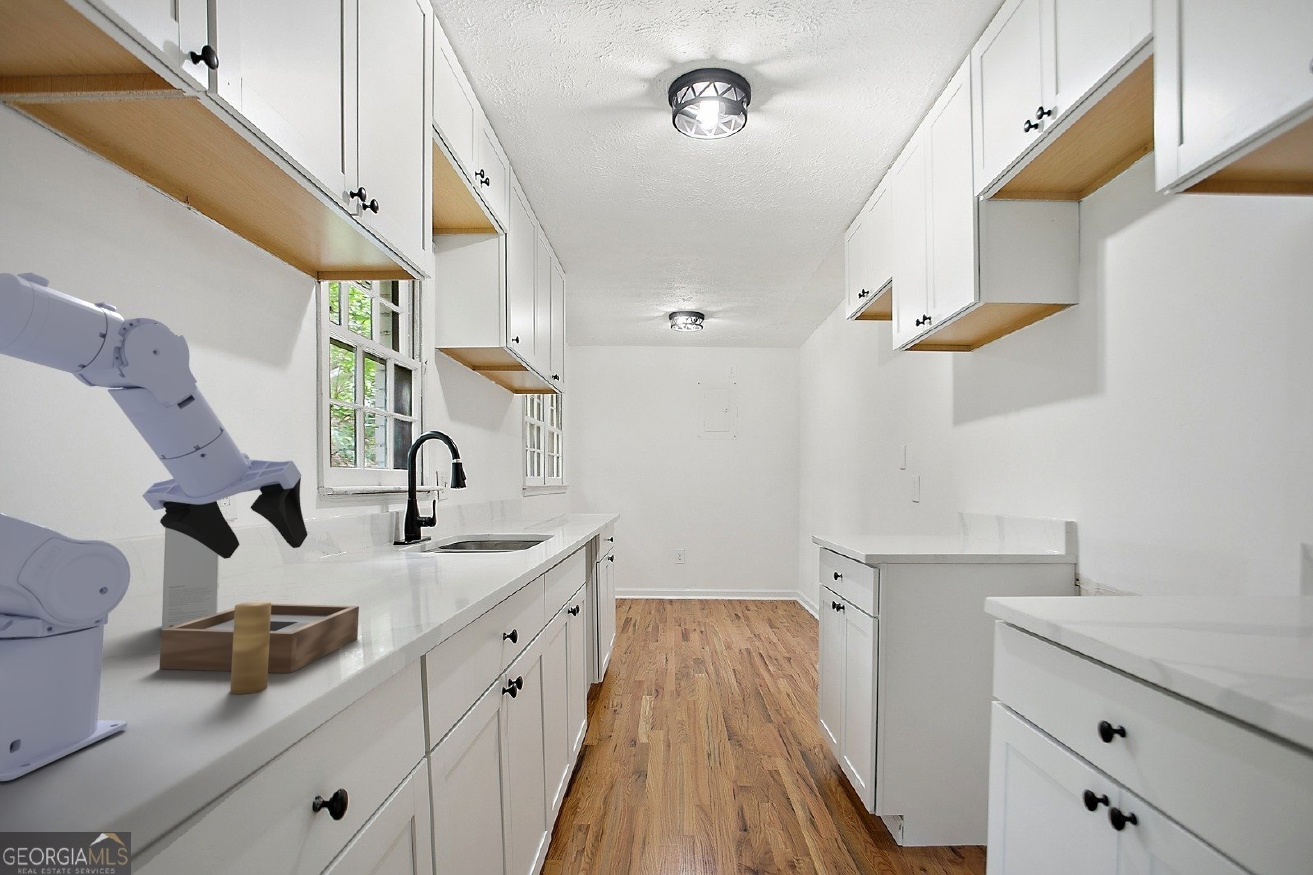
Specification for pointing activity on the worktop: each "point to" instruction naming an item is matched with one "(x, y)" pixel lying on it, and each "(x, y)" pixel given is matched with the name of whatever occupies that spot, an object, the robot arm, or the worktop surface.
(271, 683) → the worktop surface
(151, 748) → the worktop surface
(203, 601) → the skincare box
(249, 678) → the peg
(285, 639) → the tray
